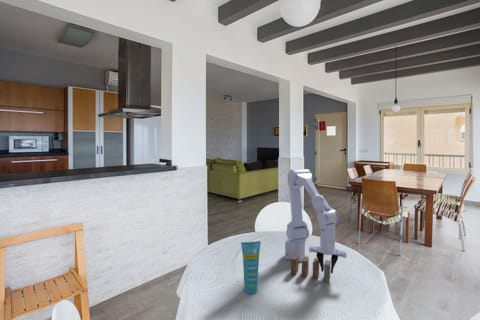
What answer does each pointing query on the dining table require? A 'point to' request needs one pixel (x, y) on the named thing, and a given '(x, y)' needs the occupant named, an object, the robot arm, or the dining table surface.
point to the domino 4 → (327, 270)
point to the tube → (250, 265)
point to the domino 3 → (315, 269)
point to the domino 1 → (294, 264)
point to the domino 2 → (305, 266)
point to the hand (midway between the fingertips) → (327, 271)
